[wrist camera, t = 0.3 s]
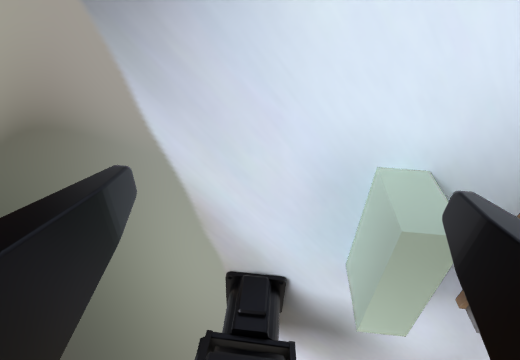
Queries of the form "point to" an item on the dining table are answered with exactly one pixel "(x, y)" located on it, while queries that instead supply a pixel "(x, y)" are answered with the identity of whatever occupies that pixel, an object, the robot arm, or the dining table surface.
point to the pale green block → (397, 251)
